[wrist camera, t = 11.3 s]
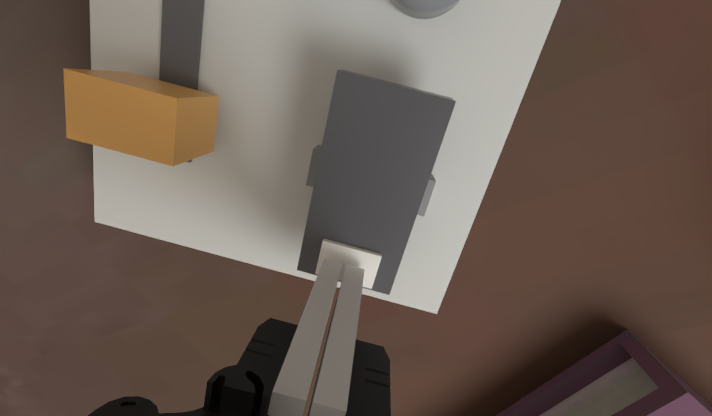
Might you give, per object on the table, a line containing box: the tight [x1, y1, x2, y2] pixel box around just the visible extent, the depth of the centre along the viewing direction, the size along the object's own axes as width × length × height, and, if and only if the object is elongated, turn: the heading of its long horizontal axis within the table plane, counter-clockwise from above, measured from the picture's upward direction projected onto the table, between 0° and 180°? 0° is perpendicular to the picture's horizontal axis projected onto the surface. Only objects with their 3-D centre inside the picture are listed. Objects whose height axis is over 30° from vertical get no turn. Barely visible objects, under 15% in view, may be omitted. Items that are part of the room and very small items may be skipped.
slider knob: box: [63, 68, 219, 166], centre depth 14 cm, size 2×4×3 cm, turn 76°
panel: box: [90, 0, 561, 314], centre depth 15 cm, size 18×18×4 cm
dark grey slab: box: [297, 69, 456, 295], centre depth 13 cm, size 8×4×1 cm, turn 166°
